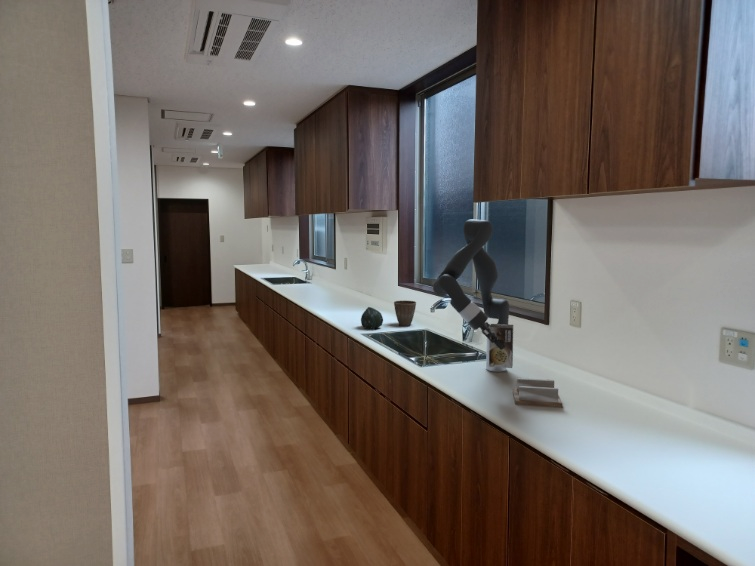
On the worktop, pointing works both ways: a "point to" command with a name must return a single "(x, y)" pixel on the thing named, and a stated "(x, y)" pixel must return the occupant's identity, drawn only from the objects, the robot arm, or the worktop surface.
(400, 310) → the plant pot
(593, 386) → the worktop surface
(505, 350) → the coffee box
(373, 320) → the squash
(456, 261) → the robot arm
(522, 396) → the clevis cradle
